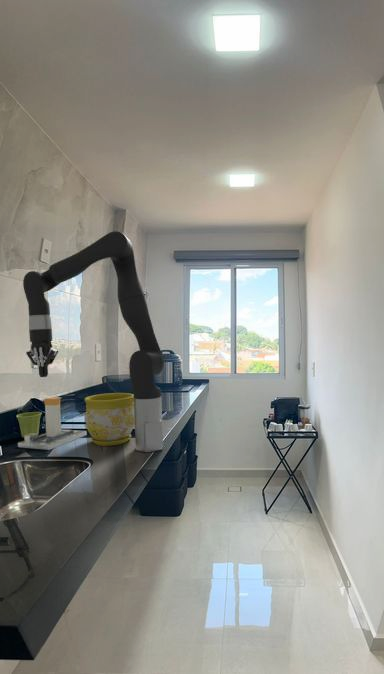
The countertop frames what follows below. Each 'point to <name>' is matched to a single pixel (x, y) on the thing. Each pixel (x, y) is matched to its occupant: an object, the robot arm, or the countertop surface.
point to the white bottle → (52, 416)
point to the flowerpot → (110, 418)
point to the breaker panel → (50, 439)
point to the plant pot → (29, 423)
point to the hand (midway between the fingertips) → (43, 376)
